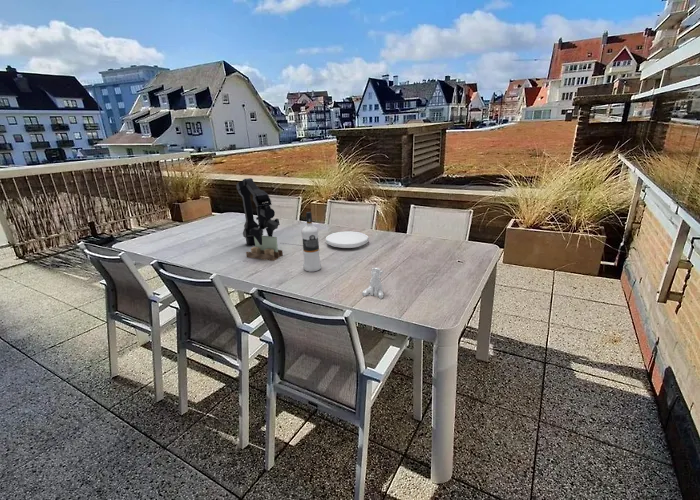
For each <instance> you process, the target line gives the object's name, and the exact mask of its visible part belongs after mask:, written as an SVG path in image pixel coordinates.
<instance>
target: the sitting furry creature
mask: <svg viewBox="0 0 700 500" xmlns="http://www.w3.org/2000/svg"><path fill="white" fill-rule="evenodd" d="M370 274H371V275H370V276H371V278H370V280H369V286H368V287H367V288H365V289H364V290H363V291H362V292H361V296H364V297H366V296H374V297H377V298H379V299H380V300H381V299H383V298H384V290H383V284H382V281H381V279H380V277H381V276H382V275H383V274H384V270H381V268H378V267H371V271H370Z"/></svg>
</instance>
